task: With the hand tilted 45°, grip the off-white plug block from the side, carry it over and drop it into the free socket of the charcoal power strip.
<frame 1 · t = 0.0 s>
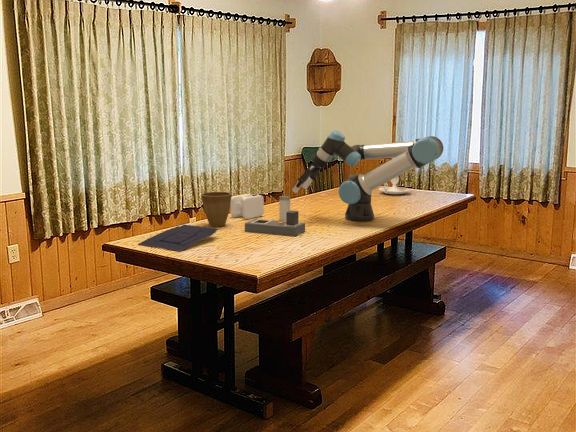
hand: (299, 189, 318), 15 cm above the table, fingers open, 13 cm apart
candlestick: (392, 194, 401), on the table
plant pot: (217, 225, 305), on the table
plug: (284, 219, 320), on the table
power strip: (274, 231, 292), on the table
cable organizer: (247, 217, 326), on the table
dark blue folded cloth: (180, 242, 272), on the table
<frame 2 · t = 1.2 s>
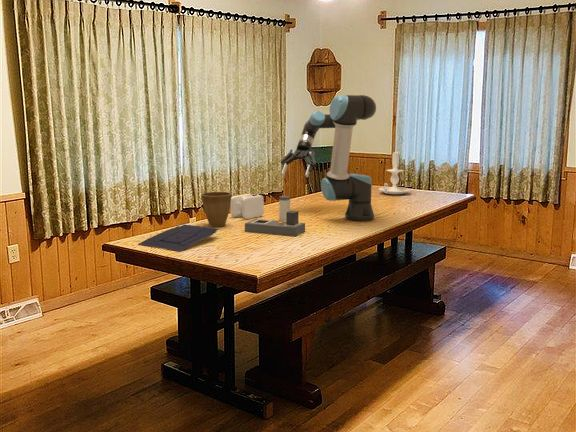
hand: (294, 175, 327), 22 cm above the table, fingers open, 13 cm apart
nothing on the table moved.
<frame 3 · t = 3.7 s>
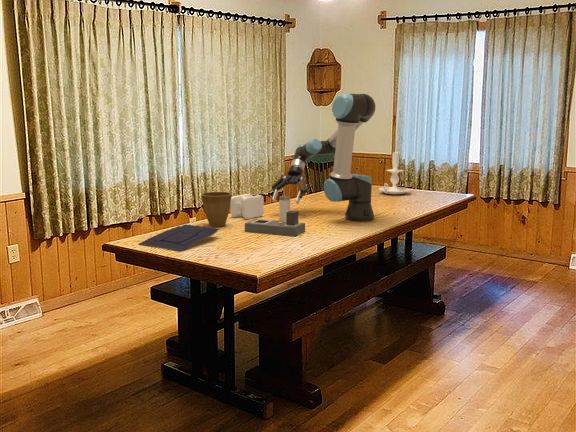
hand: (285, 201, 322), 9 cm above the table, fingers open, 13 cm apart
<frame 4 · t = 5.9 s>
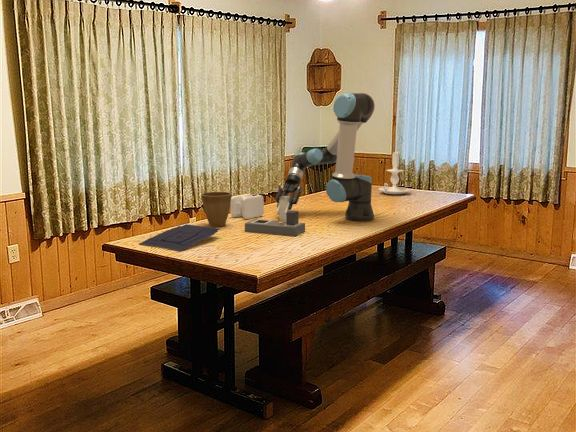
hand: (281, 213, 315), 4 cm above the table, fingers closed on plug, 4 cm apart
plug: (284, 219, 320), on the table, touching gripper
everything else where it was.
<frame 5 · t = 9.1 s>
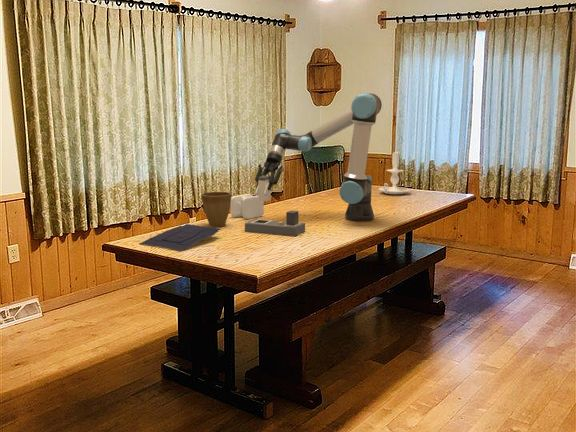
hand: (261, 194, 301), 16 cm above the table, fingers closed on plug, 4 cm apart
plug: (264, 200, 306), point 12 cm above the table, touching gripper
when the fingers open (6 cm above the table, at t = 12.6 s): plug drops 2 cm, resting on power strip.
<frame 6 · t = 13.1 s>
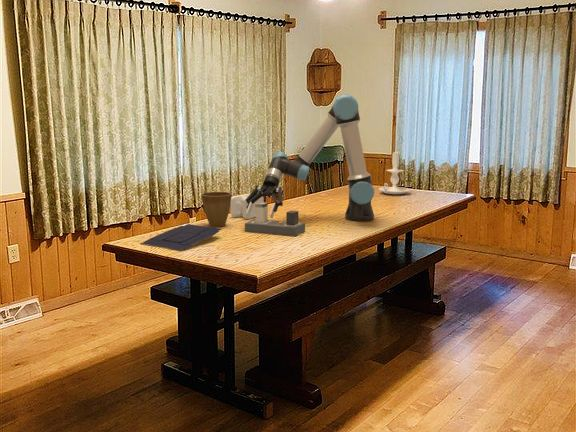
hand: (259, 215, 290), 8 cm above the table, fingers open, 11 cm apart
plug: (261, 228, 294), point 1 cm above the table, touching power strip
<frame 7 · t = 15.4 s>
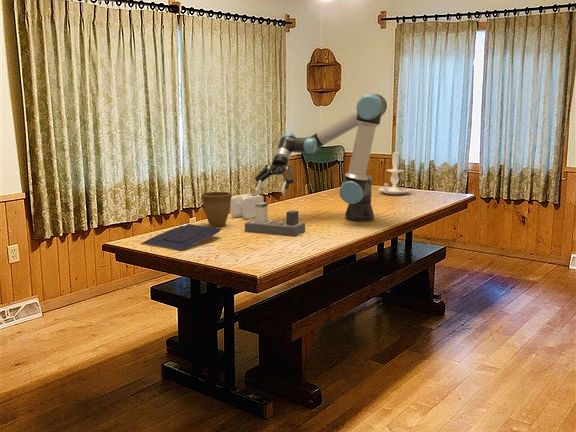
hand: (269, 192, 300), 17 cm above the table, fingers open, 13 cm apart
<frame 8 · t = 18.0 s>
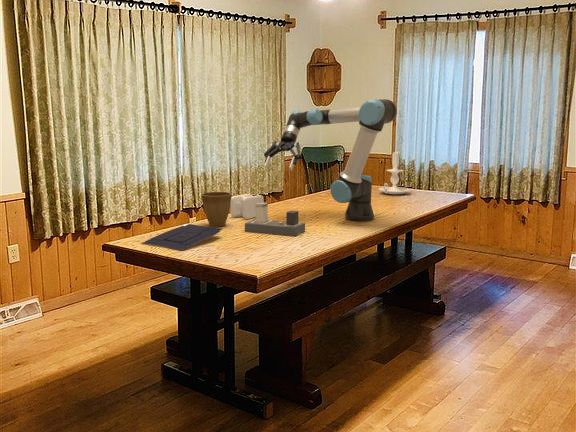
hand: (278, 168, 307), 28 cm above the table, fingers open, 13 cm apart
at the end: plug 0.1 cm from the target spot on the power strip, point 1.0 cm above the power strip's base; plug tilted 0°; the gripper is holding nothing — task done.
